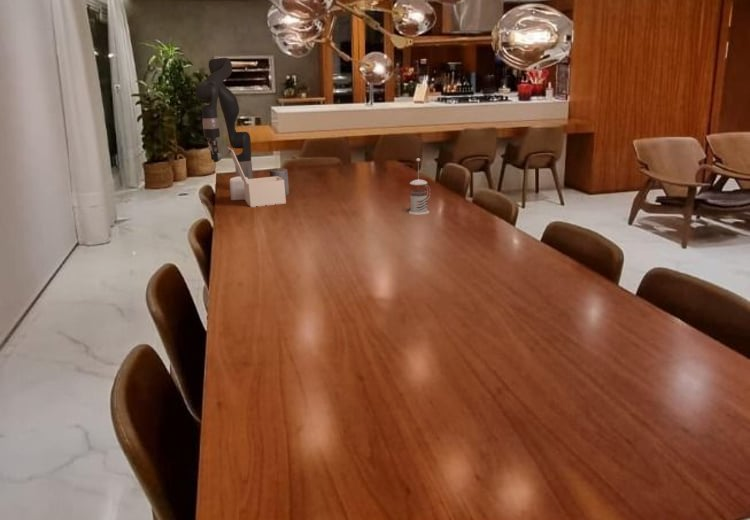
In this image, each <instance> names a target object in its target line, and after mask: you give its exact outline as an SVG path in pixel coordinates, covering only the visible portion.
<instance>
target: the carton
mask: <svg viewBox="0 0 750 520" xmlns="http://www.w3.org/2000/svg"><path fill="white" fill-rule="evenodd" d="M246 180H247V182H248V184H246V183H245V182H244V188H245V198H246V200H245V203H246V202H247V203H246V205H248V206H249V207H250V208H257V207H256V206H258V207H265V205H267V206H273V205H274V206H275V204H276V205H284V204H287V200H286V199H287V198H286V196H285V185H284V180H283V179H282V178H280V177H278V176H275V177H270V176H265V177H257V178H255V177H253V179H246Z"/></svg>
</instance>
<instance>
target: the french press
mask: <svg viewBox="0 0 750 520" xmlns="http://www.w3.org/2000/svg"><path fill="white" fill-rule="evenodd" d="M415 161H416V162H417V177H418V178H417V179H414V180H412V181H410V182H409V184H410V185H411V186H417V188H418V189H416V190H411V191H410V193H411V194H410V197H409V198H410V210H408V214H410V215H415V216H416V215H418V216H419V215H428V214H429V213H430V211H429V209H428V200H429V199H430V197H431V194H429V190H431V188H430V186H429V185H428V181H426V180H424V179H420V175H419V174H420V173H419V169H420V167H419V166H420V165H419V162H420V161H421V158H419V157H418V158H416V159H415ZM420 186H422V187H423V188H424V189H427V191H426V190H424V189H420ZM428 195H429V196H428Z"/></svg>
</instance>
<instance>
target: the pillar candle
mask: <svg viewBox="0 0 750 520" xmlns="http://www.w3.org/2000/svg"><path fill="white" fill-rule="evenodd" d="M275 176H278V177H280V178H282V179H283V180H284V185H285V197H286V196H288V195H289V194H290V189H289V188H290V187H289V173H288V169H287V168H283V167H282V168H279V167H277V168H273V169H272V168H271V169H269V177H275Z"/></svg>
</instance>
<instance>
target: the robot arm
mask: <svg viewBox="0 0 750 520" xmlns="http://www.w3.org/2000/svg"><path fill="white" fill-rule="evenodd" d="M208 69H209V73H210V74H209V75H208V76H207V77H206V79H205V80H204V81H202V82H201V83H199V84H198V85H197V86H196V89H195V96H196V98H197V99H198V100H200V101H210V102H209V104H205V105H203V106H201V116H202V128H203V129H202V131H203V136H204V138H205V139H207V141H208V142H207V143H208V149H209V152H210V157H211V158H210V160H211V161H213V162H214V163H219V161H218V153H219V146H218V141H217V140H216V139H217V138H220V137H221V133H220V125H219V124H220V123H219V118H218V111H217V110H218V109H217V108H218V107H217V106H218V102H219V105H220V109H221V112H222V115H223V118H224V123H225V126H226V129H227V135H228V141H229V143H230V146H231V149H232V148H233V149H235V150H236V149H237V150H238V149H242V151H241V152H240V153H239V154H235V155H236V158H237V160H238V162H239V164H240V166H241V169H242V171H243V173H244V175H245V177H247V178H248V179H254V173H253V163H252V143H251V136H250V133H249V132H248V131H236V126H235V125H236V122H237V120H238V116H239V114H240V107H239V103H238V102H239V101H238V99H237V97H236V95H235V94H234V93H233V92H232V91H231V90H230V89H229V88H228V87H227V86H226V85H225V83H224V81H226V79H228V78H229V77H230V76H231V75H232V73H233V64H232V61H231V60H230V59H229V58H227V57H220V58H218V57H217V58H212V59H209V61H208ZM234 167H235V175H236V176H235V177H239V176H240V174H239V172H238V170H237V167H236V165H235V164H234Z"/></svg>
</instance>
